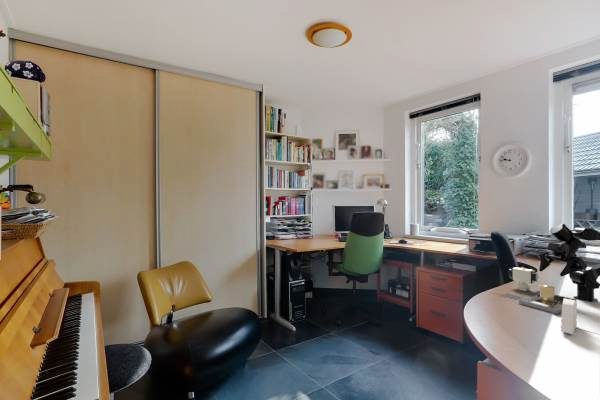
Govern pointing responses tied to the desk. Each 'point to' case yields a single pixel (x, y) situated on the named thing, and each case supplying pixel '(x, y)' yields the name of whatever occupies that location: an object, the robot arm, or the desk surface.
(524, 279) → the pneumatic valve
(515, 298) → the grey square plate
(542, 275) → the desk surface
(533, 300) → the plate
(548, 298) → the brass knob
